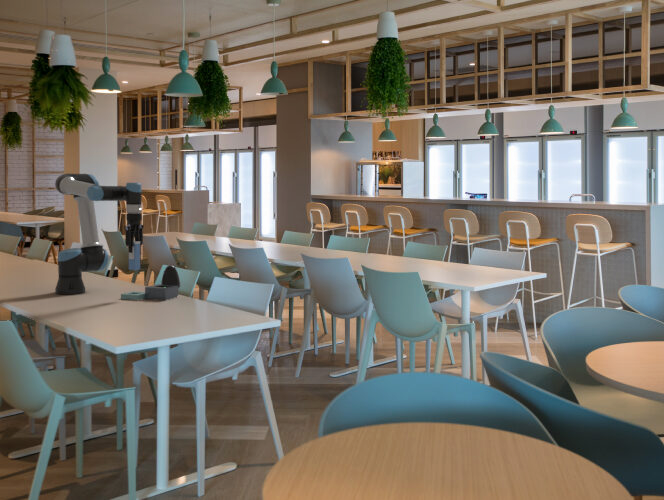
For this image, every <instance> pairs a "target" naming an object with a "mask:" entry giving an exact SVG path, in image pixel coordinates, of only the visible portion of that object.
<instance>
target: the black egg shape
mask: <svg viewBox="0 0 664 500" xmlns="http://www.w3.org/2000/svg"><path fill="white" fill-rule="evenodd" d="M162 273H163V274H162V276H161V281H160V284H162V285H177V286H178V292H179V291H180V288H181V281H180V276H179V273H178V270H177V268H176V267H175V265H167V266H166V267H165V269H164V271H163V272H162Z"/></svg>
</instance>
